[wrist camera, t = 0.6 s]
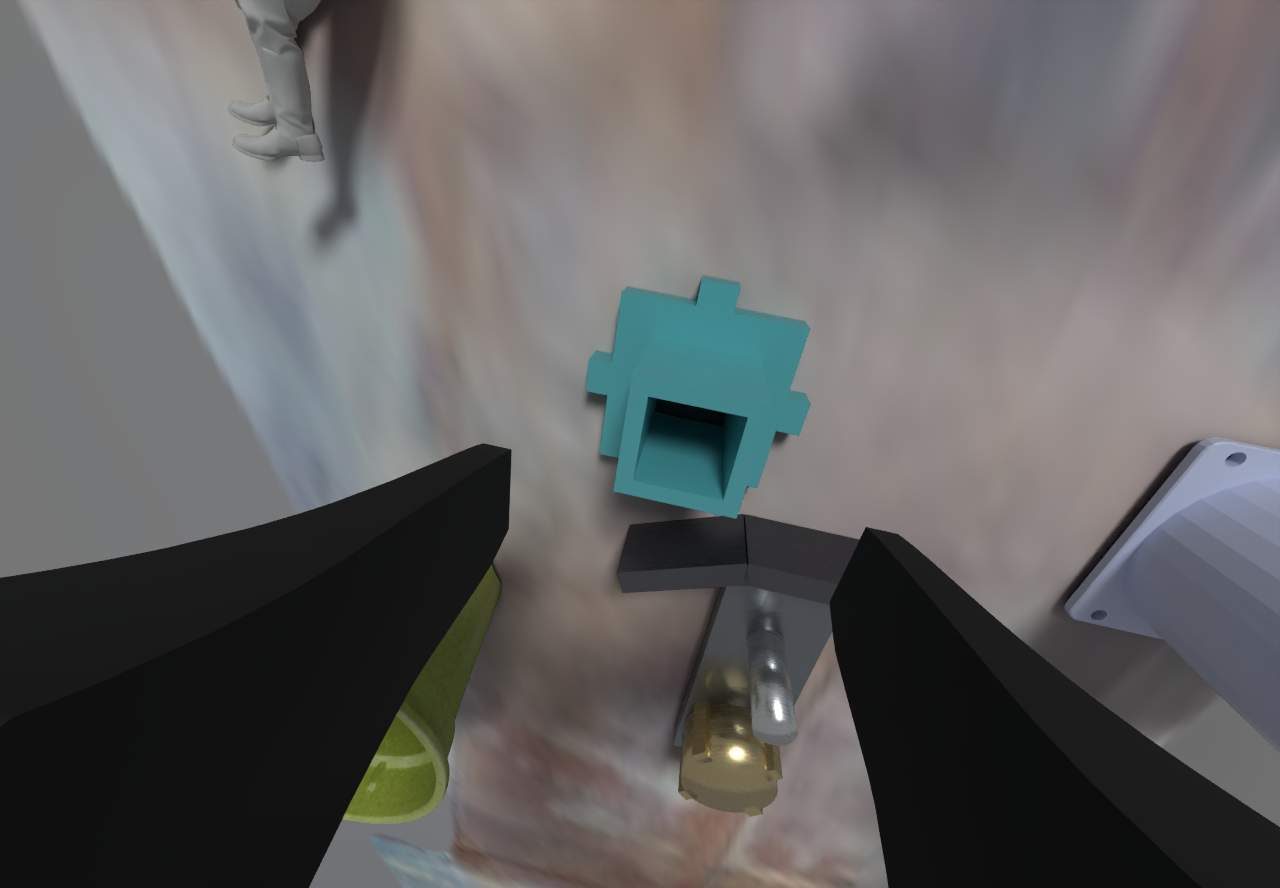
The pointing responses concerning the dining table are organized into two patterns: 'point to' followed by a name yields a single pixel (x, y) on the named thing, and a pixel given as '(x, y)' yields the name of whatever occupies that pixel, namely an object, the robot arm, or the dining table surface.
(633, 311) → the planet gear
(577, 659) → the dining table surface
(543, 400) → the dining table surface
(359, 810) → the plant pot
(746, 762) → the carrier
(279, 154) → the soldier figure
